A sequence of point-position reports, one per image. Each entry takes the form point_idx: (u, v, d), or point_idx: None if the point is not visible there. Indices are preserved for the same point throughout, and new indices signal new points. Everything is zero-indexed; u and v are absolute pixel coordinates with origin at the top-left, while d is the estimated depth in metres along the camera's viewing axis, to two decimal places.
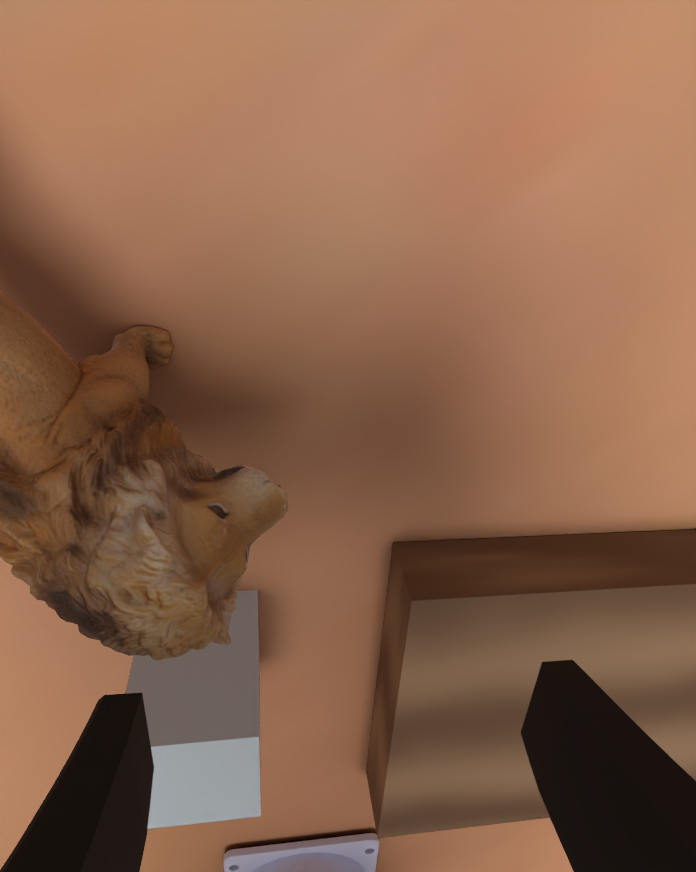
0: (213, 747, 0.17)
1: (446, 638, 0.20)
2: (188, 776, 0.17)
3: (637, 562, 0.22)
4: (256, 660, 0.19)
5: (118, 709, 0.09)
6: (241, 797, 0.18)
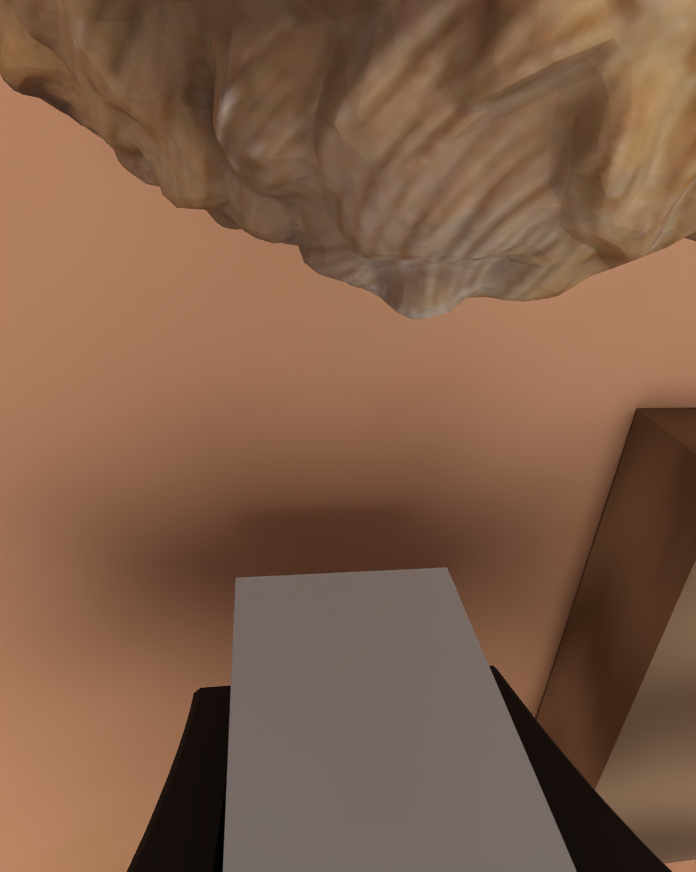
0: None
1: None
2: None
3: None
4: (508, 720, 0.08)
5: (217, 701, 0.09)
6: None
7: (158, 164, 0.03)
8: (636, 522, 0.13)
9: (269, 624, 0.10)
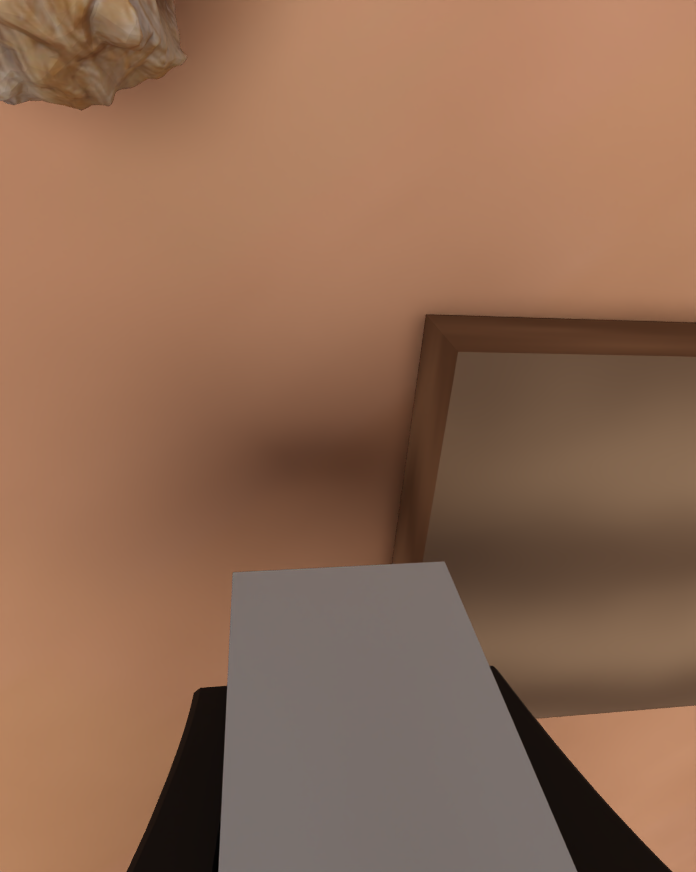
0: None
1: (500, 422, 0.15)
2: None
3: None
4: (505, 713, 0.08)
5: (217, 702, 0.09)
6: None
7: None
8: (425, 406, 0.17)
9: (266, 618, 0.10)
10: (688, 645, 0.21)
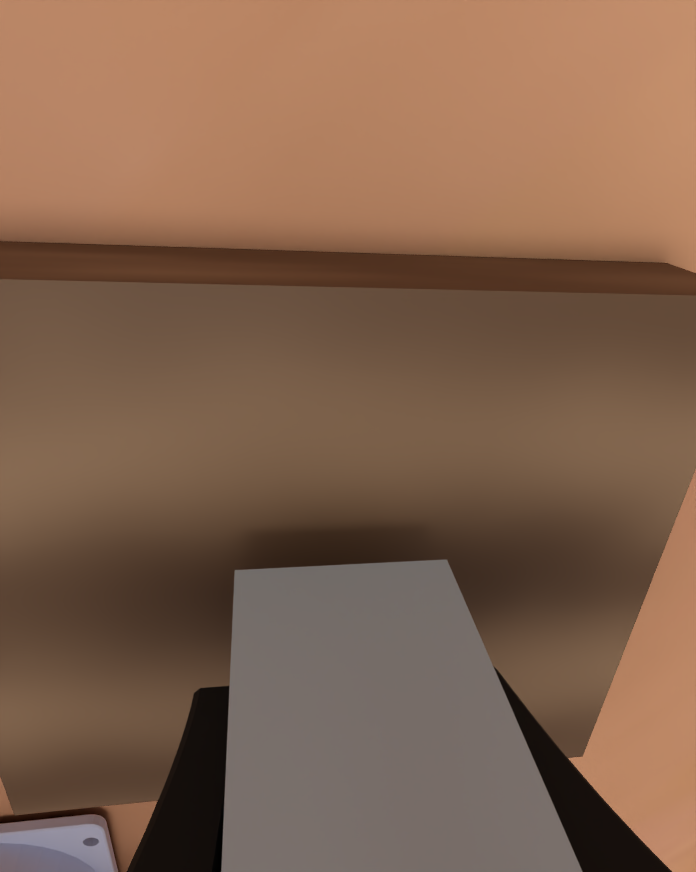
0: None
1: None
2: None
3: (382, 271, 0.11)
4: (508, 710, 0.08)
5: (217, 701, 0.09)
6: None
7: None
8: None
9: (268, 616, 0.10)
10: None
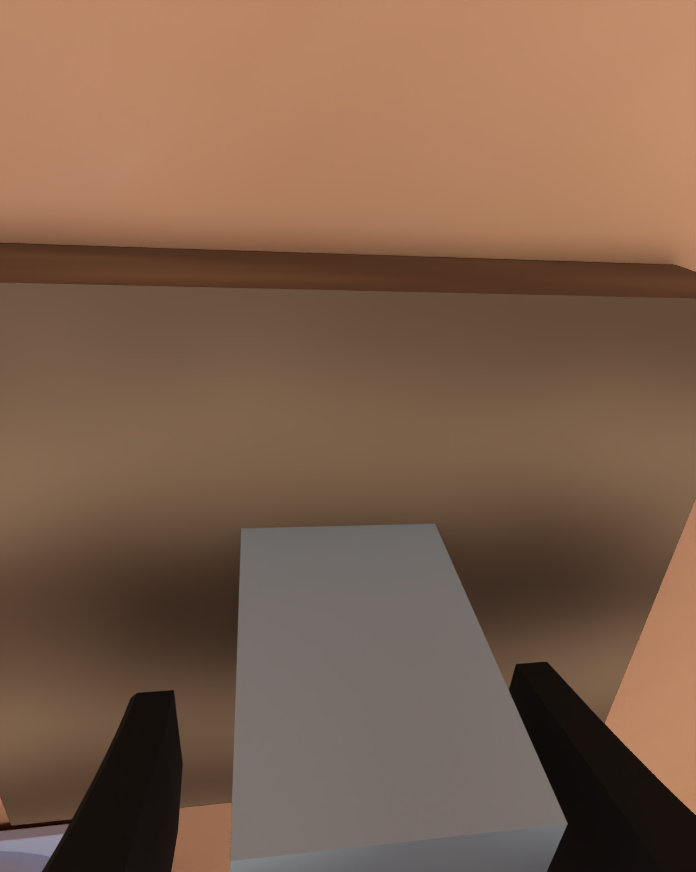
0: (462, 848, 0.07)
1: None
2: None
3: (386, 274, 0.11)
4: (486, 647, 0.09)
5: (152, 707, 0.09)
6: None
7: None
8: None
9: (272, 566, 0.11)
10: None
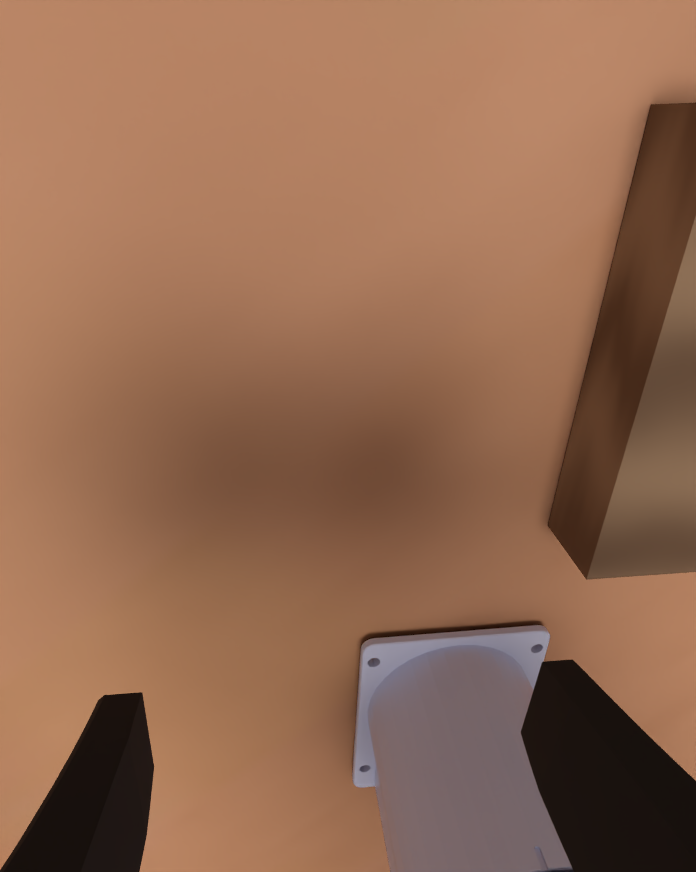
0: None
1: None
2: None
3: None
4: None
5: (118, 709, 0.09)
6: None
7: None
8: (652, 202, 0.16)
9: None
10: None
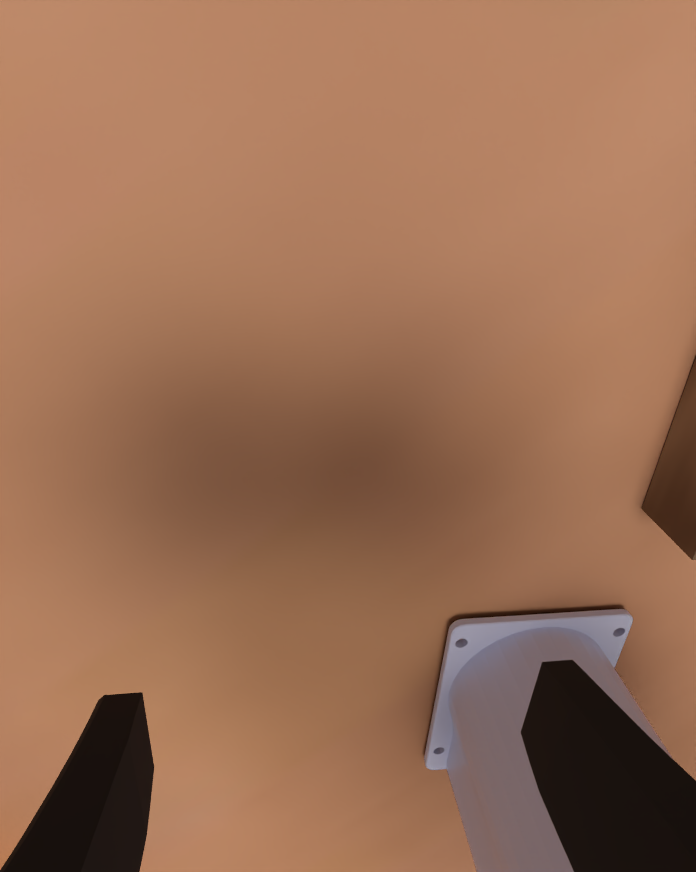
0: None
1: None
2: None
3: None
4: None
5: (118, 709, 0.09)
6: None
7: None
8: None
9: None
10: None
